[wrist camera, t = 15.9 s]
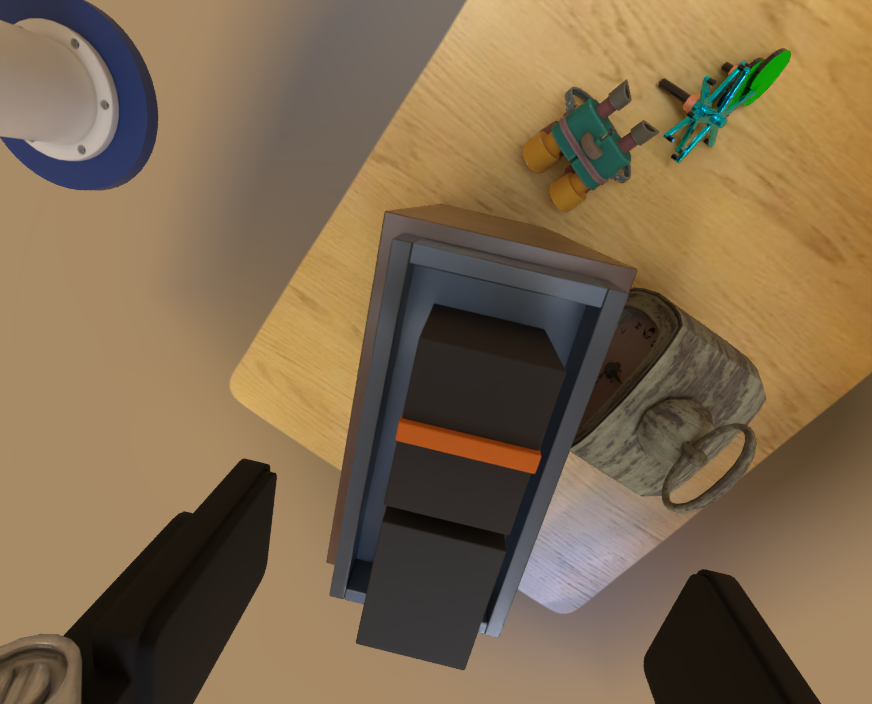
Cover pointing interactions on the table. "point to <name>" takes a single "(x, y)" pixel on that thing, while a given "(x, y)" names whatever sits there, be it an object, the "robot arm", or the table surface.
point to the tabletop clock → (668, 403)
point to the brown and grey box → (488, 295)
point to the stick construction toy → (723, 97)
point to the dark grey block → (429, 587)
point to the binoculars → (586, 146)
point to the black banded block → (473, 418)
